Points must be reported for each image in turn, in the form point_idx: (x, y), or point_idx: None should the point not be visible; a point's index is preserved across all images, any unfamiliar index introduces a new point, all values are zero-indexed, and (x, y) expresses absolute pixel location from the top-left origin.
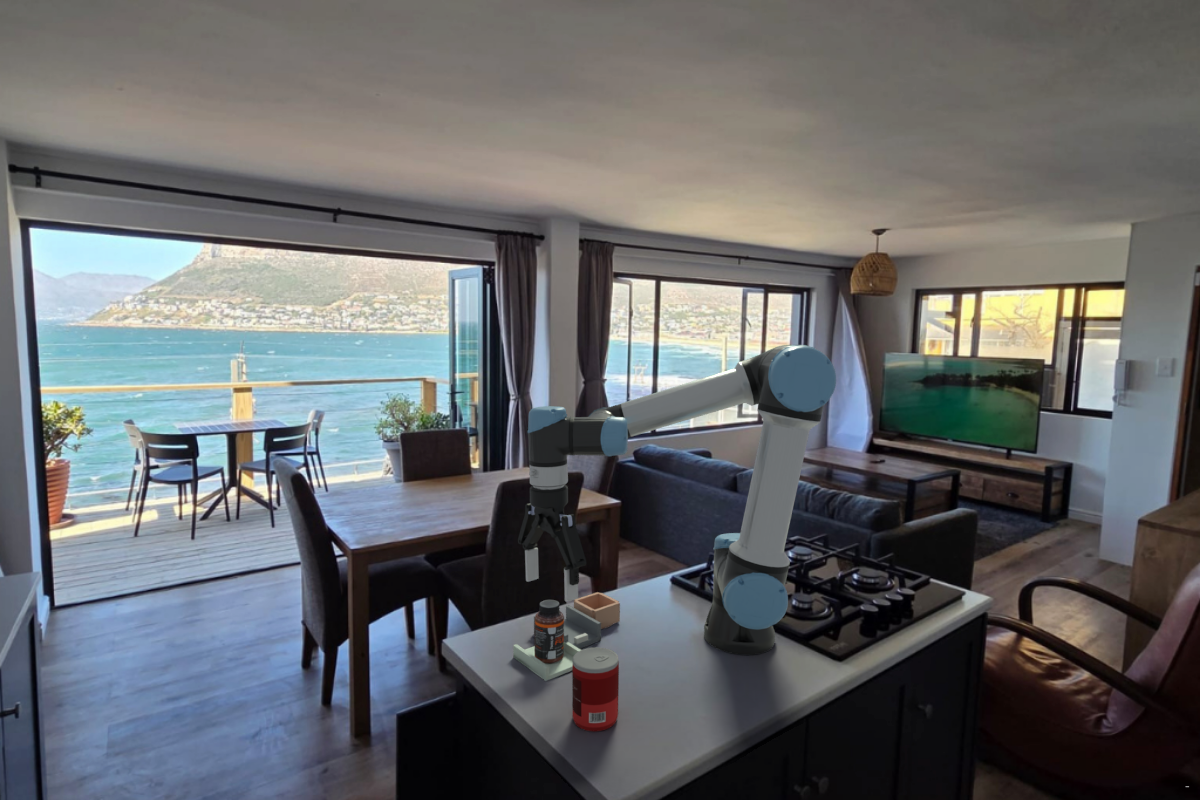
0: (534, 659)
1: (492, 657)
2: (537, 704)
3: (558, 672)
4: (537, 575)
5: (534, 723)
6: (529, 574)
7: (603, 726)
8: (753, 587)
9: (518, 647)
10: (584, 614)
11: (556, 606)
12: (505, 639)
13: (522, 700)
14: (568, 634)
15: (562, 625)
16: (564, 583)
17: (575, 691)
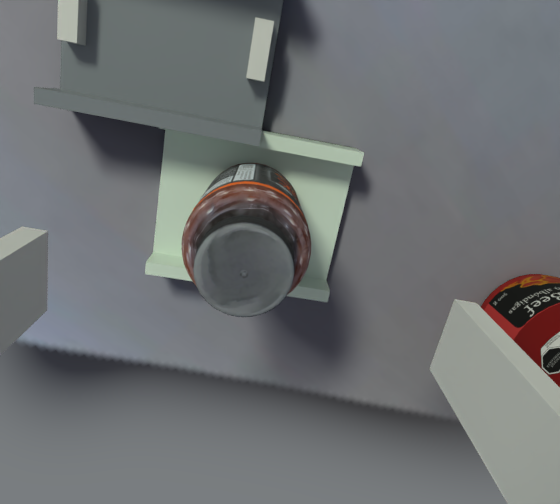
0: None
1: (110, 296)
2: (375, 362)
3: (332, 249)
4: (35, 248)
5: (416, 408)
6: (22, 320)
7: None
8: None
9: (168, 272)
10: None
11: (293, 270)
12: (35, 198)
13: (335, 373)
14: (184, 40)
15: (307, 224)
16: (474, 445)
17: None
